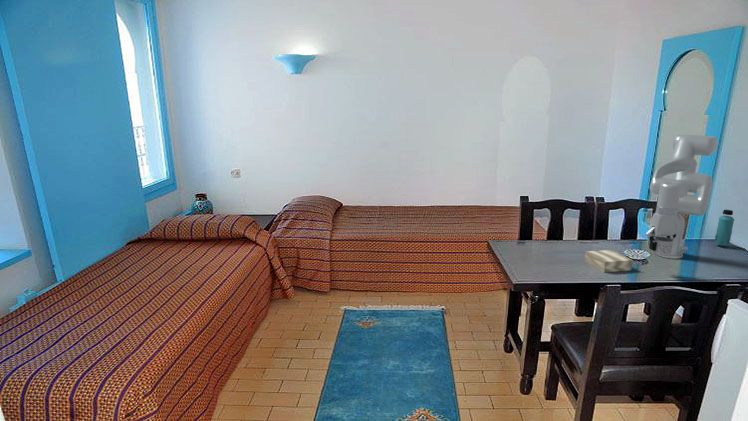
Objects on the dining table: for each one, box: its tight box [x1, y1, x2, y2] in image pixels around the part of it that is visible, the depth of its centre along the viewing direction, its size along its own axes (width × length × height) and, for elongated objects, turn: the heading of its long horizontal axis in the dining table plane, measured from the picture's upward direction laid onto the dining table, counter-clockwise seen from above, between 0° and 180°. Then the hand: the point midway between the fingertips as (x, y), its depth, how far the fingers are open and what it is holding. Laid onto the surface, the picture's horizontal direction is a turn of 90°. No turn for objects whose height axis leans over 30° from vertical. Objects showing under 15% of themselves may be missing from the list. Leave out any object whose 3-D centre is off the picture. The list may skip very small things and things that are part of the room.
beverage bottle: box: [714, 209, 735, 247], centre depth 228 cm, size 6×7×20 cm
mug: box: [646, 237, 673, 257], centre depth 193 cm, size 10×7×7 cm, turn 32°
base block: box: [584, 249, 633, 273], centre depth 204 cm, size 14×14×5 cm
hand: (659, 248), depth 193 cm, fingers closed on mug, 6 cm apart
